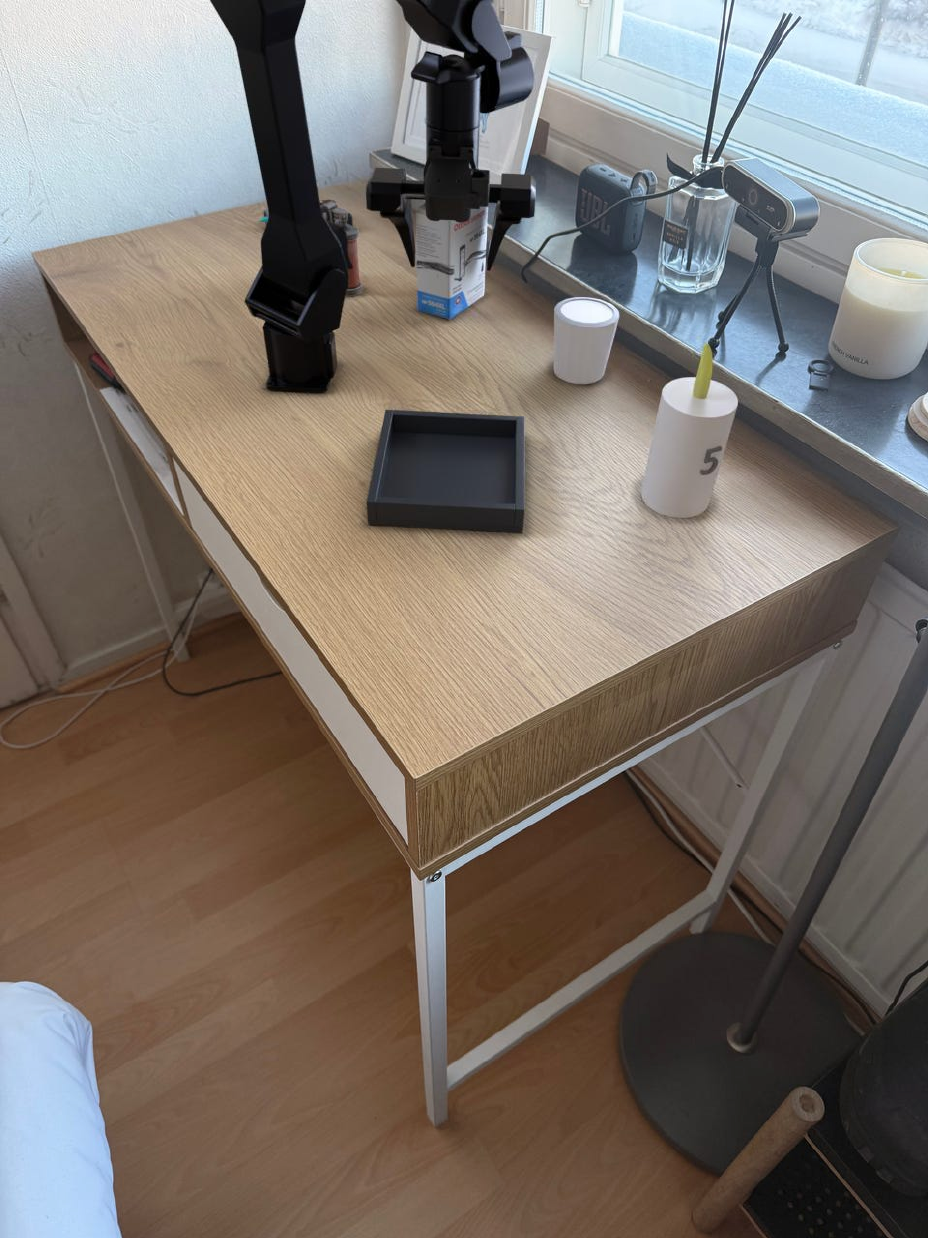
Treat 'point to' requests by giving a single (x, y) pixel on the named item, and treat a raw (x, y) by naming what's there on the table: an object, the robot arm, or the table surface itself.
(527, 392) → the table surface
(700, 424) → the candle
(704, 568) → the table surface
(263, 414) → the table surface
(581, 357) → the white cylinder
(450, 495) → the tray
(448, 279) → the ink box
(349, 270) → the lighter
